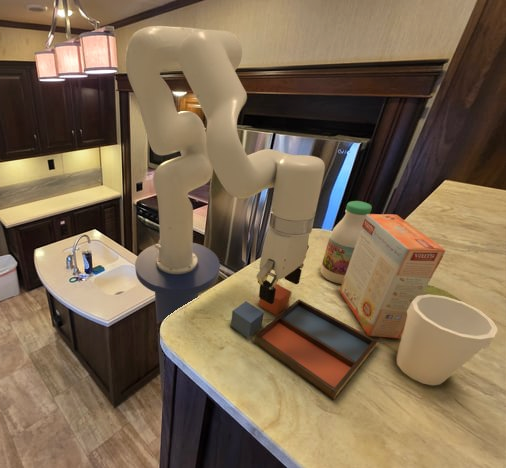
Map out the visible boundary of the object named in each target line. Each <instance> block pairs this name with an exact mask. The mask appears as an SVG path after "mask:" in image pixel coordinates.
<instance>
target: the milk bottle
mask: <svg viewBox="0 0 506 468" xmlns="http://www.w3.org/2000/svg"><path fill="white" fill-rule="evenodd" d="M372 208H373V207H372V204H370V203H367V202H366V201H365V202H364V201H361V200H351V201H348V203H347V204H346V207H345V211H344V212H345V214H344V215H343V217H342V219H341V220H340V221H339V222H337V224H336V225H335V226H334V227H333V229H332V231H331V233H330V236H329V238H328V242H327V245H326V249H325V252H324V254H323V259H322V262H321V266H320V274H321V275H322V276H323V278H325V279H326V280H328V281H330V282H333V283H335V284H341V285H342V283H343V280H344V277H345V274H346V271H347V269H348V266H349V263H350V260H351V257H352V254H353V251H354V248H355V246H356V243H357V240H358V237H359V234H360V231H361V228H362V226H363V223H364V220H365V217H366V214H371V212H372V210H373V209H372Z"/></svg>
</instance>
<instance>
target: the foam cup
mask: <svg viewBox="0 0 506 468" xmlns="http://www.w3.org/2000/svg"><path fill="white" fill-rule="evenodd" d="M498 331H499V329H498V327H497V326H496V324H495V322H494V320H493V319H492V318H490V317H489V316H488V315H487V314H485V313H484V312H483V311H481V310H480V309H478V308H476V307H474V306H472V305H470V304H468V303H466V302H463V301H462V300H460V301H458V300H455V299H452V298H448V297H445V296H438V295H430V294H427V295H421V296H417V297H416V298H415V299H414V300H413V301H412V302H411V304H410V306H409V308H408V310H407V319H406V323H405V326H404V330H403V332H402V334H401V337H400V342H399V345H398V349H397V354H396V358H395V361H396V365H397V367H398V368H399V369H400V370H401V372H402V373H404V374H405V375H406V376H408V378H410V379H412V380H414V381H416V382H419V383H421V384H425V385H428V386H439V385H442V384H443V383H444V382H446V381H447V380H448V379H449V378H450V377H452V376H453V374H455V373H456V372H457V371H458V370H459V369H460V368H461V367H463V366H464V365H465V364H466V363H467V362H469V361H470V360H471V359H473V357H474V356H476V355H477V354H478V353H479V352H480V351H481V350H483V349H486V348H487V347H488V346H489V344H490V343H491V342H492V340H493V339H494V337H495V336H496V334H497V333H498Z"/></svg>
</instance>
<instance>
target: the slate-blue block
mask: <svg viewBox="0 0 506 468" xmlns="http://www.w3.org/2000/svg"><path fill="white" fill-rule="evenodd" d="M264 316H265V312H264V311H263V310H262V309H260V308H259V307H256V306H255V305H253V304H252V303H250V302H248V301H246V300H245V301H244V302H242V303H240V304H239V305H238V306H237V307H235V308H233V310H232V311H231V322H230V327H231V328H233V329H235V330H236V331H237V332H239V333H240V334H241V335H242V336H244V337H245V338H247V339H250V338H251V337H253V335H256V334H257V333H258V332H259V331H261V330H262V329H263V328H262V327H263V321H264Z"/></svg>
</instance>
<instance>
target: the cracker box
mask: <svg viewBox="0 0 506 468" xmlns="http://www.w3.org/2000/svg"><path fill="white" fill-rule="evenodd" d="M446 251H447V250H446V249H445V248H443V247H442V246H441V245H440V244H438V243H436V242H435V241H434V240H432V239H431V238H429V236H427V235H426V234H424V233H423V232H421V231H420V230H418V229H417V228H416V227H414V226H413V225H411V224H410V223H409V222H407V221H406V220H405V219H403V218H402V217H400V216H399V215H398V214H393V213H390V214H389V213H385V214H384V213H381V214H377V213H370V214H366V217H365V220H364V223H363V226H362V228H361V231H360V234H359V237H358V240H357V243H356V246H355V248H354V251H353V254H352V257H351V260H350V263H349V266H348V269H347V271H346V274H345V277H344V280H343V283H342V284H341V285H340V289H339V293H340V294H341V296H342V297H343V299H344V301H345V302H346V303H347V306H348V307H349V308H350V310H351V311H352V313H353V315H354V317H355V318H356V320H357V321H358V323H359V324H360V325H361V327H362V329H363V331H364V332H365V333H366V335H367V336H369V337H377V338H387V339H388V338H389V339H397V340H398V339H401V337H402V334H403V330H404V326H405V323H406V319H407V310H408V308H409V306H410V304H411V302H412V301H413V300H414V299H415V298H416V297H417V296H421V295H423V293H424V291H425V289H426V287H427V285H429V284H430V281H431V279H432V278H433V276H434V274H435V272H436V271H437V268H438V267H439V265H440V263H441V261H442V259H443V258H444V255H445V254H446Z"/></svg>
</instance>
